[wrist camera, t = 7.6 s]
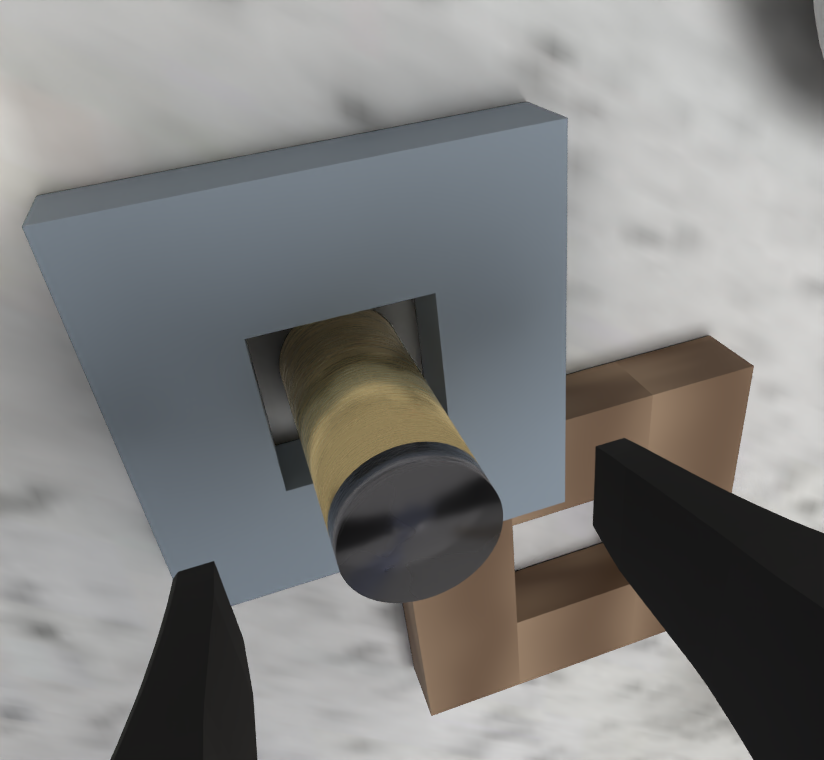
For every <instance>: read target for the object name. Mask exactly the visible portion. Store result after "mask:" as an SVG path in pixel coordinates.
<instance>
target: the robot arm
mask: <svg viewBox="0 0 824 760" xmlns="http://www.w3.org/2000/svg"><path fill="white" fill-rule="evenodd" d="M593 526H594V528H595V530H596V532H597V533H598V535H599V537H600V539H601V540H602V542H603V544H604V546H605V547H606V549H607V551H608V553H609V554H610V556H611V558H612V559H613V561H614V562H615V564H616V566H617V567H618V569H619V571H620V572H621V573H622V575H623V576H624V577H625V579H626V580H627V581H628V583H629V584H630V585H631V587H632V588H633V589H634V590H635V592H636V593H637V594H638V596H639V597H640V598H641V600H642V601H643V602H644V603H645V605H646V606H647V607H648V609H649V610H650V611H651V612H652V614H653V615H654V616H655V618H656V619H657V620H658V621H659V623H660V624H661V625H662V627H663V628H664V629H665V630H666V632H667V633H668V634H669V636H670V637H671V638H672V639H673V641H674V642H675V643H676V644H677V646H678V647H679V648H680V650H681V651H682V652H683V653H684V655H685V656H686V657H687V659H688V660H689V661H690V662H691V664H692V665H693V666H694V668H695V669H696V671H697V672H698V673H699V675H700V676H701V678H702V679H703V680H704V682H705V683H706V685H707V686H708V687H709V689H710V691H711V692H712V694H713V695H714V697H715V698H716V700H717V702H718V703H719V705H720V706H721V708H722V709H723V711H724V713H725V714H726V716H727V717H728V719H729V720H730V722H731V724H732V725H733V727H734V728H735V730H736V732H737V733H738V735H739V736H740V738H741V740H742V741H743V743H744V745H745V746H746V748H747V750H748V751H749V753H750V755H751V756H752V758H753V760H824V533H822V532H819V531H816V530H814V529H811V528H809V527H806V526H804V525H801V524H799V523H796V522H794V521H792V520H789V519H787V518H785V517H782V516H780V515H778V514H776V513H773V512H771V511H769V510H767V509H764V508H762V507H760V506H758V505H755V504H753V503H751V502H749V501H747V500H745V499H743V498H741V497H739V496H736V495H734V494H732V493H730V492H728V491H726V490H724V489H722V488H720V487H718V486H716V485H714V484H712V483H710V482H708V481H706V480H705V479H703V478H701V477H699V476H697V475H695V474H693V473H691V472H689V471H687V470H685V469H684V468H682V467H680V466H678V465H676V464H674V463H672V462H670V461H668V460H667V459H665V458H663V457H661V456H659V455H657V454H655V453H653V452H652V451H650V450H648V449H646V448H644V447H642V446H640V445H638V444H636V443H634V442H632V441H630V440H628V439H626V438H622V439H618V440H615V441H612V442H608V443H605V444H602V445H598V446H596V448H595V478H594V508H593ZM110 760H257V747H256V731H255V716H254V701H253V692H252V686H251V680H250V674H249V668H248V663H247V657H246V651H245V646H244V640H243V637H242V634H241V631H240V629H239V626H238V623H237V621H236V618H235V615H234V613H233V610H232V607H231V605H230V602H229V599H228V597H227V594H226V591H225V589H224V586H223V583H222V581H221V578H220V575H219V573H218V570H217V567H216V565H215V562H214V561H212V562H209V563H205V564H202V565H199V566H195V567H192V568H189V569H185V570H182V571H179V572H177V574H176V575H175V577H174V578H173V582H172V586H171V591H170V595H169V599H168V603H167V607H166V610H165V614H164V618H163V621H162V624H161V628H160V631H159V634H158V638H157V641H156V644H155V647H154V650H153V653H152V656H151V659H150V661H149V664H148V667H147V670H146V673H145V676H144V679H143V682H142V684H141V687H140V690H139V692H138V695H137V698H136V700H135V703H134V705H133V707H132V710H131V712H130V715H129V717H128V720H127V722H126V724H125V727H124V729H123V732H122V734H121V737H120V739H119V742H118V744H117V746H116V748H115V751H114V753H113V755H112V757H111V759H110Z"/></svg>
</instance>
